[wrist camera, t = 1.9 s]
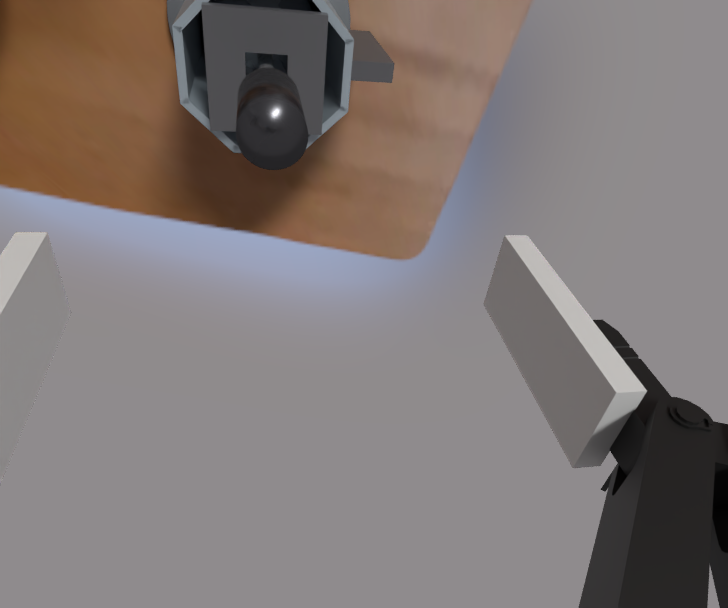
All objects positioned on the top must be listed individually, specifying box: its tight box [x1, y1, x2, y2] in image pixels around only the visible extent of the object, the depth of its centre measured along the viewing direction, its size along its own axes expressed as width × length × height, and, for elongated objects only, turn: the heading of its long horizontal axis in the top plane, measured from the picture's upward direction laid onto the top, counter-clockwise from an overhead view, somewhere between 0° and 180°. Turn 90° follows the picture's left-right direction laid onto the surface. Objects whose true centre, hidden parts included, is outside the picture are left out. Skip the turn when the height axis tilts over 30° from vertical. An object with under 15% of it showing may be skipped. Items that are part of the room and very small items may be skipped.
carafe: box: [172, 0, 394, 153], centre depth 36 cm, size 13×10×14 cm
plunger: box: [210, 0, 312, 170], centre depth 32 cm, size 8×8×21 cm
